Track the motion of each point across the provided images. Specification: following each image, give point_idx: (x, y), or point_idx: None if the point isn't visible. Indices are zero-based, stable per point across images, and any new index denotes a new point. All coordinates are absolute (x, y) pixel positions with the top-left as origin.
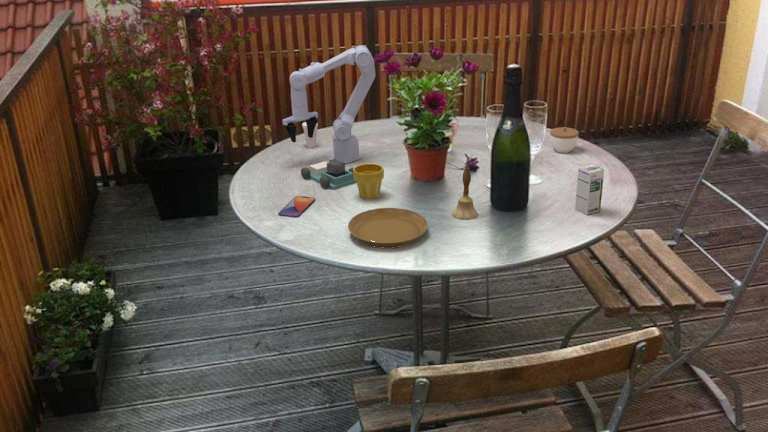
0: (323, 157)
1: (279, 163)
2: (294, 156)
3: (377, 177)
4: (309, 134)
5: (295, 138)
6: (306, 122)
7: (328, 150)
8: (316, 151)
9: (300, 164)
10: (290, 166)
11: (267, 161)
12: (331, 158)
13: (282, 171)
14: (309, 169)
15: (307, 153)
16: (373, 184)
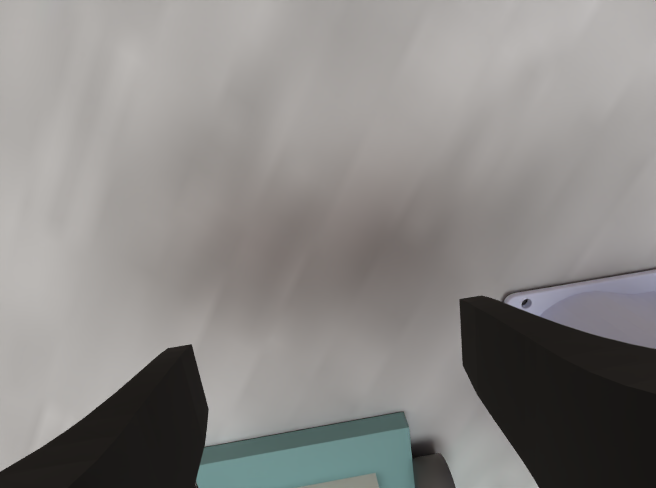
0: (500, 218)
1: (115, 139)
2: (311, 40)
3: None
4: (478, 353)
5: (192, 467)
6: (610, 401)
7: (634, 80)
8: (542, 36)
9: (271, 263)
10: (181, 261)
11: (16, 10)
12: (520, 308)
13: (83, 328)
14: (260, 457)
15: (450, 36)
16: None
